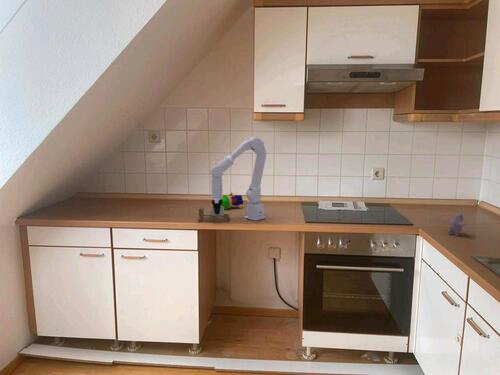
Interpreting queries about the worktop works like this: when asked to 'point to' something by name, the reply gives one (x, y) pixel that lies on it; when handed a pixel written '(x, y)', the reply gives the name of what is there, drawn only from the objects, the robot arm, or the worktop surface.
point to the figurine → (456, 224)
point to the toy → (231, 201)
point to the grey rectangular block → (219, 213)
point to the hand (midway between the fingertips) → (217, 213)
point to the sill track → (210, 218)
